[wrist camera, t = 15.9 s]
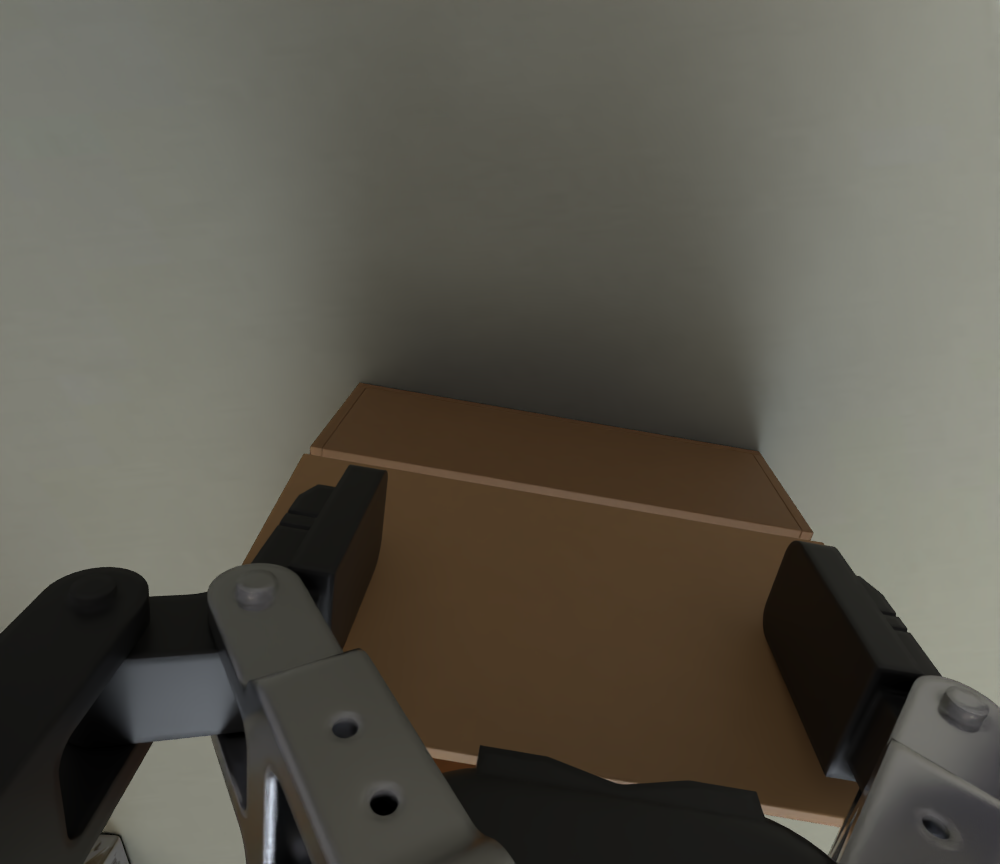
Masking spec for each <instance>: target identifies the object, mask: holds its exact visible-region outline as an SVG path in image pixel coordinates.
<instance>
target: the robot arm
mask: <svg viewBox="0 0 1000 864" xmlns="http://www.w3.org/2000/svg"><path fill="white" fill-rule="evenodd" d="M387 482H388V473H387V471H386V470H381V469H375V468H369V467H363V466H357V465H351V464H350V465H349V466H348V467H347V469H346V470H345V472H344V474H343V475H342V477H341V479H340V480H339V482H338V484H337V485H336V487H333V486H327V485H321V484H317V485H316V486H314V487H312V488H310V489H309V490H307V491H305V492H303V493H301V494H300V495H298V497H297V498H296V499H295V501H294V502H293V504H292V505H291V507H290V508H289V509H288V513H286V514H285V515H284V517H283V518H282V519H281V521H280V524H279V525H277V527H276V528H275V529H274V531H273V532H272V534H271V535H270V537H269V538H268V539H267V541H266V542H265V544H264V545H263V547H262V548H261V549H260V551H259V552H258V554H257V555H256V557H255V558H254V559H253V561H252V562H251V564H246V565H241V566H237V567H234V568H232V569H229V570H227V571H225V572H223V573H222V574H220V575H219V576H218V577H216V578H215V579H214V580H213V582H212V583H211V584H210V586H209V589H208V592H204V593H199V594H190V595H173V596H152V597H149V589H148V584H147V582H146V580H145V579H144V578H143V577H142V576H141V575H139V574H138V573H136V572H134V571H131V570H128V569H123V568H115V567H100V568H92V569H87V570H82V571H79V572H75V573H72V574H70V575H67V576H65V577H63V578H61V579H59V580H57V581H55V582H54V583H52V584H51V585H49V586H48V587H47V588H46V589H45V590H44V591H43V592H42V593H41V594H40V595H39V596H38V597H37V598H36V599H35V600H34V601H33V602H32V603H31V604H30V605H29V606H28V607H27V608H26V609H25V610H24V611H23V612H22V613H21V614H20V615H19V616H18V617H17V618H16V619H15V620H14V621H13V622H12V623H11V624H10V625H9V626H8V627H7V628H6V629H5V630H4V631H3V632H2V633H1V634H0V864H83V863H84V861H85V860H86V858H87V856H88V854H89V853H90V851H91V849H92V848H93V846H94V844H95V842H96V841H97V839H98V837H99V835H100V834H101V832H102V830H103V828H104V827H105V825H106V823H107V821H108V820H109V818H110V816H111V814H112V813H113V811H114V809H115V807H116V806H117V804H118V802H119V800H120V799H121V797H122V795H123V794H124V792H125V790H126V788H127V787H128V785H129V783H130V781H131V780H132V778H133V776H134V774H135V773H136V771H137V769H138V767H139V766H140V764H141V762H142V760H143V759H144V757H145V755H146V753H147V752H148V750H149V748H150V747H151V745H152V743H153V741H162V740H172V739H181V738H190V737H199V736H209V735H211V739H212V742H213V745H214V749H215V752H216V755H217V758H218V761H219V764H220V767H221V770H222V774H223V777H224V780H225V783H226V786H227V789H228V792H229V795H230V798H231V802H232V805H233V808H234V811H235V814H236V817H237V820H238V823H239V827H240V830H241V834H242V838H243V843H244V849H245V856H246V864H1000V708H999V707H998V706H997V705H996V704H995V703H994V702H992V701H991V700H990V699H988V698H987V697H986V696H984V695H983V694H981V693H979V692H978V691H976V690H974V689H973V688H971V687H969V686H967V685H965V684H962V683H960V682H958V681H955V680H952V679H949V678H945V677H942V676H941V674H940V673H939V672H938V670H937V669H936V668H935V666H934V665H933V663H932V662H931V661H930V659H929V658H928V657H927V655H926V654H925V652H924V651H923V650H922V648H921V647H920V646H919V644H918V643H917V641H916V640H915V639H914V637H913V636H912V635H911V633H908V632H907V628H906V626H905V625H904V624H903V622H902V621H901V619H900V618H899V617H896V613H895V611H894V610H893V608H892V607H891V606H890V604H889V603H888V602H887V600H886V599H885V597H884V596H883V595H882V594H881V593H880V592H879V591H877V590H876V589H875V588H874V587H872V586H871V585H870V584H869V583H867V582H866V581H865V580H864V579H862V578H861V577H860V576H856V575H855V574H854V572H853V571H852V569H851V568H850V566H849V565H848V564H847V562H846V561H845V559H844V558H843V556H842V555H841V554H840V552H839V551H838V550H837V548H835V547H832V546H827V545H821V544H815V543H809V542H803V541H797V540H796V541H793V542H791V543H790V544H789V546H788V547H787V549H786V551H785V554H784V557H783V559H782V562H781V564H780V567H779V570H778V572H777V575H776V578H775V580H774V583H773V585H772V588H771V591H770V593H769V596H768V599H767V601H766V604H765V608H764V613H763V630H764V635H765V638H766V640H767V642H768V645H769V647H770V649H771V652H772V654H773V656H774V659H775V661H776V663H777V665H778V668H779V670H780V672H781V675H782V677H783V679H784V682H785V684H786V686H787V689H788V691H789V693H790V696H791V698H792V700H793V703H794V705H795V707H796V709H797V712H798V714H799V716H800V719H801V721H802V723H803V726H804V728H805V730H806V733H807V735H808V737H809V740H810V742H811V744H812V747H813V749H814V751H815V753H816V756H817V758H818V760H819V763H820V765H821V767H822V770H823V772H824V774H825V777H831V778H837V779H843V780H849V781H855V782H857V784H858V786H859V790H858V791H857V793H856V795H855V797H854V799H853V801H852V803H851V805H850V807H849V810H848V812H847V814H846V816H845V818H844V821H843V823H842V825H841V827H840V829H839V832H838V834H837V836H836V838H835V841H834V843H833V845H832V847H831V849H830V852H829V854H828V855H826V854H825V853H824V852H823V851H822V850H820V849H819V848H818V847H816V846H815V845H813V844H812V843H811V842H809V841H808V840H806V839H805V838H803V837H802V836H800V835H798V834H797V833H795V832H793V831H792V830H790V829H789V828H787V827H785V826H783V825H781V824H779V823H777V822H775V821H773V820H770V819H768V818H765V817H764V814H763V810H762V807H761V804H760V801H759V798H758V795H757V792H756V791H750V790H744V789H738V788H732V787H726V786H720V785H714V784H708V783H702V782H697V781H691V780H684V781H669V782H655V783H640V784H618V783H614V782H612V781H609V780H606V779H604V778H601V777H599V776H596V775H594V774H591V773H589V772H586V771H584V770H581V769H578V768H576V767H573V766H571V765H568V764H566V763H563V762H561V761H558V760H556V759H553V758H550V757H548V756H542V755H536V754H530V753H524V752H518V751H512V750H506V749H500V748H494V747H489V746H483V745H480V747H479V752H478V757H477V762H476V767H475V768H464V769H458V770H453V771H448V772H444V773H442V772H441V771H440V769H439V768H438V766H437V764H436V763H435V761H434V760H433V758H432V756H431V755H430V753H429V752H428V750H427V748H426V747H425V745H424V743H423V742H422V740H421V739H420V737H419V735H418V734H417V732H416V731H415V729H414V727H413V726H412V724H411V723H410V721H409V719H408V718H407V716H406V715H405V713H404V711H403V710H402V708H401V706H400V705H399V703H398V702H397V700H396V698H395V697H394V695H393V694H392V692H391V690H390V689H389V687H388V686H387V684H386V682H385V681H384V679H383V677H382V676H381V674H380V673H379V671H378V669H377V668H376V666H375V665H374V663H373V661H372V660H371V658H370V657H369V655H368V654H367V653H366V652H365V651H364V650H363V649H361V648H356V649H353V650H349V651H346V652H343V648H344V645H345V643H346V640H347V638H348V635H349V633H350V630H351V628H352V625H353V623H354V620H355V618H356V615H357V613H358V610H359V608H360V605H361V603H362V600H363V598H364V595H365V593H366V591H367V588H368V586H369V583H370V581H371V578H372V576H373V573H374V571H375V568H376V565H377V561H378V557H379V553H380V547H381V541H382V532H383V522H384V512H385V502H386V492H387Z"/></svg>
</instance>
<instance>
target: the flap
mask: <svg viewBox="0 0 1000 864" xmlns="http://www.w3.org/2000/svg"><path fill="white" fill-rule="evenodd" d="M350 464H351V465H357V466H363V467H369V468H375V469H381V470H386V471H387V473H388V482H387V492H386V502H385V512H384V522H383V532H382V541H381V547H380V553H379V557H378V561H377V565H376V568H375V571H374V573H373V576H372V578H371V581H370V583H369V586H368V588H367V591H366V593H365V595H364V598H363V600H362V603H361V605H360V608H359V610H358V613H357V615H356V618H355V620H354V623H353V625H352V628H351V630H350V633H349V635H348V638H347V640H346V643H345V645H344V648H343V652H346V651H349V650H353V649H356V648H361V649H363V650H364V651H365V652H366V653H367V654H368V655H369V657H370V658H371V660H372V661H373V663H374V665H375V666H376V668H377V669H378V671H379V673H380V674H381V676H382V677H383V679H384V681H385V682H386V684H387V686H388V687H389V689H390V690H391V692H392V694H393V695H394V697H395V698H396V700H397V702H398V703H399V705H400V706H401V708H402V710H403V711H404V713H405V715H406V716H407V718H408V719H409V721H410V723H411V724H412V726H413V727H414V729H415V731H416V732H417V734H418V735H419V737H420V739H421V740H422V742H423V743H424V745H425V747H426V748H427V750H428V752H429V753H430V755H431V756H432V758H437V759H443V760H449V761H455V762H460V763H466V764H472V765H476V762H477V757H478V752H479V747H480V745H483V746H489V747H494V748H500V749H506V750H512V751H518V752H524V753H530V754H536V755H542V756H548V757H550V758H553V759H556V760H558V761H561V762H563V763H566V764H568V765H571V766H573V767H576V768H578V769H581V770H584V771H586V772H589V773H591V774H594V775H596V776H599V777H601V778H604V779H606V780H609V781H612V782H614V783H618V784H640V783H655V782H669V781H684V780H691V781H697V782H702V783H708V784H714V785H720V786H726V787H732V788H738V789H744V790H750V791H756V792H757V795H758V798H759V801H760V804H761V807H762V810H763V814H765V815H771V816H777V817H783V818H789V819H795V820H800V821H806V822H812V823H818V824H824V825H830V826H836V827H841V825H842V823H843V821H844V818H845V816H846V814H847V812H848V810H849V807H850V805H851V803H852V801H853V799H854V797H855V795H856V793H857V791H858V790H859V786H858V784H857V782H855V781H849V780H843V779H837V778H831V777H825V774H824V772H823V770H822V767H821V765H820V763H819V760H818V758H817V756H816V753H815V751H814V749H813V747H812V744H811V742H810V740H809V737H808V735H807V733H806V730H805V728H804V726H803V723H802V721H801V719H800V716H799V714H798V712H797V709H796V707H795V705H794V703H793V700H792V698H791V696H790V693H789V691H788V689H787V686H786V684H785V682H784V679H783V677H782V675H781V672H780V670H779V668H778V665H777V663H776V661H775V659H774V656H773V654H772V652H771V649H770V647H769V645H768V642H767V640H766V638H765V635H764V630H763V613H764V608H765V604H766V601H767V599H768V596H769V593H770V591H771V588H772V585H773V583H774V580H775V578H776V575H777V572H778V570H779V567H780V564H781V562H782V559H783V557H784V554H785V551H786V549H787V547H788V546H789V544H790V543H791V542H793V541H796V540H797V541H803V542H809V543H815V544H821V545H824V543H822V542H816V541H810V540H804V539H798V538H793V537H787V536H781V535H775V534H769V533H763V532H758V531H752V530H746V529H740V528H734V527H729V526H723V525H717V524H711V523H705V522H699V521H694V520H688V519H682V518H676V517H670V516H665V515H659V514H653V513H647V512H641V511H635V510H630V509H624V508H618V507H612V506H606V505H601V504H595V503H589V502H583V501H577V500H572V499H566V498H560V497H554V496H548V495H542V494H537V493H531V492H525V491H519V490H513V489H508V488H502V487H496V486H490V485H484V484H478V483H473V482H467V481H461V480H455V479H449V478H444V477H438V476H432V475H426V474H420V473H414V472H409V471H403V470H397V469H391V468H385V467H380V466H374V465H368V464H362V463H356V462H350V461H345V460H339V459H333V458H327V457H321V456H316V455H310V454H303V456H302V458H301V459H300V461H299V463H298V465H297V467H296V468H295V470H294V472H293V474H292V476H291V477H290V479H289V481H288V483H287V485H286V486H285V488H284V490H283V492H282V494H281V495H280V497H279V499H278V501H277V503H276V504H275V506H274V508H273V510H272V512H271V513H270V515H269V517H268V519H267V521H266V522H265V524H264V526H263V528H262V530H261V531H260V533H259V535H258V537H257V539H256V540H255V542H254V544H253V546H252V548H251V549H250V551H249V553H248V555H247V557H246V558H245V560H244V562H243V564H242V565H246V564H251V562H252V561H253V559H254V558H255V557H256V555H257V554H258V552H259V551H260V549H261V548H262V547H263V545H264V544H265V542H266V541H267V539H268V538H269V537H270V535H271V534H272V532H273V531H274V529H275V528H276V527H277V525H279V524H280V521H281V519H282V518H283V517H284V515H285V514H286V513H288V509H289V508H290V507H291V505H292V504H293V502H294V501H295V499H296V498H297V497H298V495H300V494H301V493H303V492H305V491H307V490H309V489H310V488H312V487H314V486H316V485H317V484H321V485H327V486H333V487H336V485H337V484H338V482H339V480H340V479H341V477H342V475H343V474H344V472H345V470H346V469H347V467H348V466H349V465H350Z"/></svg>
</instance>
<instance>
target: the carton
mask: <svg viewBox="0 0 1000 864" xmlns="http://www.w3.org/2000/svg"><path fill="white" fill-rule="evenodd" d="M310 455H316V456H321V457H327V458H333V459H339V460H345V461H350V462H356V463H362V464H368V465H374V466H380V467H385V468H391V469H397V470H403V471H409V472H414V473H420V474H426V475H432V476H438V477H444V478H449V479H455V480H461V481H467V482H473V483H478V484H484V485H490V486H496V487H502V488H508V489H513V490H519V491H525V492H531V493H537V494H542V495H548V496H554V497H560V498H566V499H572V500H577V501H583V502H589V503H595V504H601V505H606V506H612V507H618V508H624V509H630V510H635V511H641V512H647V513H653V514H659V515H665V516H670V517H676V518H682V519H688V520H694V521H699V522H705V523H711V524H717V525H723V526H729V527H734V528H740V529H746V530H752V531H758V532H763V533H769V534H775V535H781V536H787V537H793V538H798V539H804V540H811V538H812V535H813V531H812V530H811V528H810V527H809V525H808V524H807V522H806V521H805V519H804V518H803V516H802V515H801V513H800V512H799V510H798V509H797V507H796V506H795V504H794V503H793V501H792V500H791V498H790V497H789V495H788V494H787V492H786V491H785V489H784V488H783V486H782V485H781V484H780V482H779V481H778V479H777V478H776V476H775V475H774V473H773V472H772V470H771V469H770V467H769V466H768V464H767V463H766V461H765V460H764V458H763V457H762V456H761V454H760V452H759V451H753V450H747V449H741V448H735V447H730V446H724V445H718V444H712V443H706V442H701V441H695V440H689V439H683V438H677V437H672V436H666V435H660V434H654V433H648V432H643V431H637V430H631V429H625V428H619V427H614V426H608V425H602V424H596V423H590V422H585V421H579V420H573V419H567V418H561V417H556V416H550V415H544V414H538V413H532V412H527V411H521V410H515V409H509V408H503V407H498V406H492V405H486V404H480V403H474V402H468V401H463V400H457V399H451V398H445V397H439V396H434V395H428V394H422V393H416V392H410V391H405V390H399V389H393V388H387V387H381V386H376V385H370V384H364V383H359V384H358V385H357V387H356V388H355V389H354V391H353V392H352V393H351V394H350V396H349V397H348V398H347V400H346V401H345V402H344V403H343V405H342V406H341V407H340V409H339V410H338V411H337V413H336V414H335V415H334V416H333V418H332V419H331V420H330V422H329V423H328V424H327V426H326V427H325V428H324V429H323V431H322V432H321V433H320V435H319V436H318V437H317V439H316V440H315V441H314V442H313V444H312V445H311V447H310ZM433 760H434V761H435V763H436V764H437V766H438V768H439V769H440V771H441V772H442V773H444V772H448V771H453V770H458V769H464V768H475V767H476V765H472V764H466V763H460V762H455V761H449V760H443V759H437V758H433Z"/></svg>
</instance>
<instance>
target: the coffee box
mask: <svg viewBox="0 0 1000 864" xmlns="http://www.w3.org/2000/svg"><path fill="white" fill-rule="evenodd" d="M83 864H129V862H128V859H127V857H126V854H125V851H124V848H123V845H122V842H121V839H120V837H119V836H116V835H99V837H98V839H97V841H96V842H95V844H94V846H93V848H92V849H91V851H90V853H89V854H88V856H87V858H86V860H85V861H84V863H83Z"/></svg>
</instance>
